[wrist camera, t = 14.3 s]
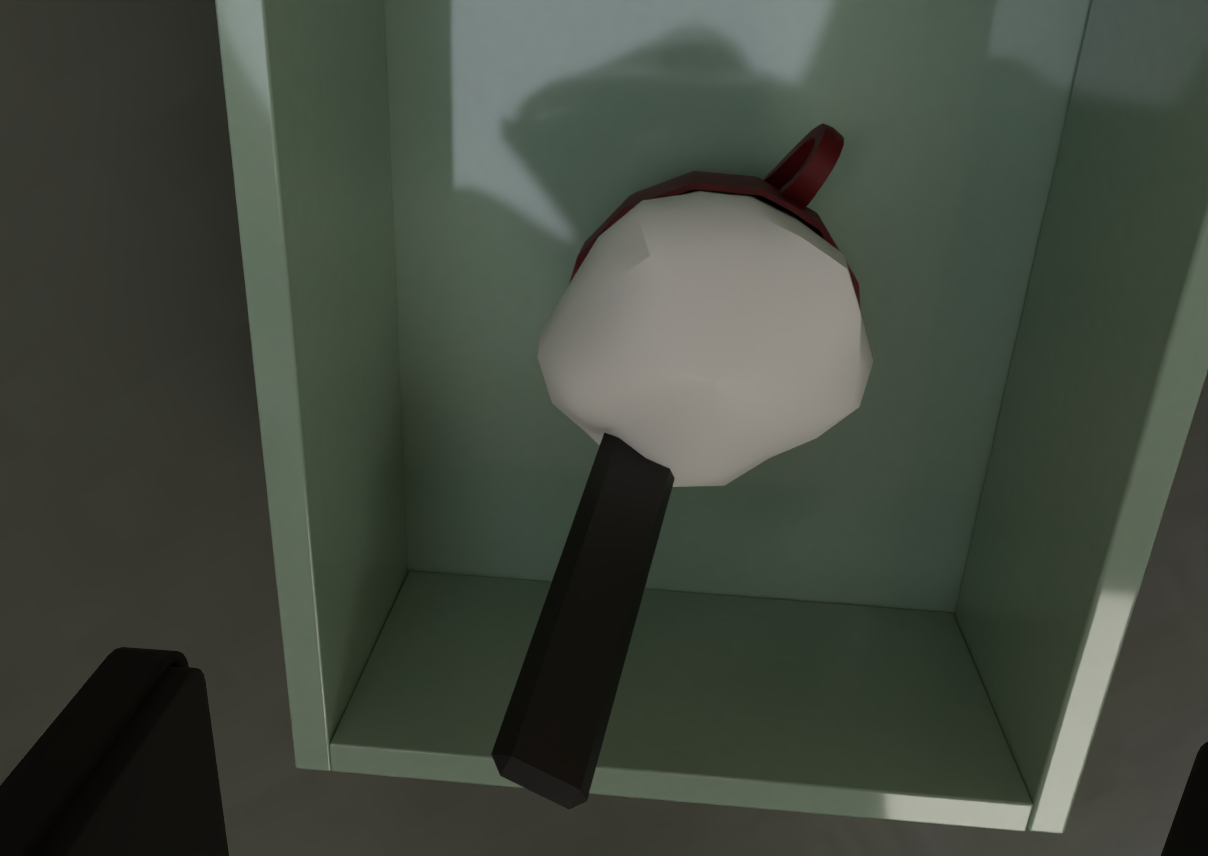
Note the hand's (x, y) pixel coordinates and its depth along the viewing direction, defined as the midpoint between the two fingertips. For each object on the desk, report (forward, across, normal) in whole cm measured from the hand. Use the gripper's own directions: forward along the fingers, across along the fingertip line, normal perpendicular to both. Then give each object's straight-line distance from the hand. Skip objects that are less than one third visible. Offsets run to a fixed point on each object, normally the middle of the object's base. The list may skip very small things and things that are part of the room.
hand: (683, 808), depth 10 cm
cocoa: (+16, 0, 0) cm, 17 cm away
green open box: (+17, -1, 0) cm, 17 cm away
